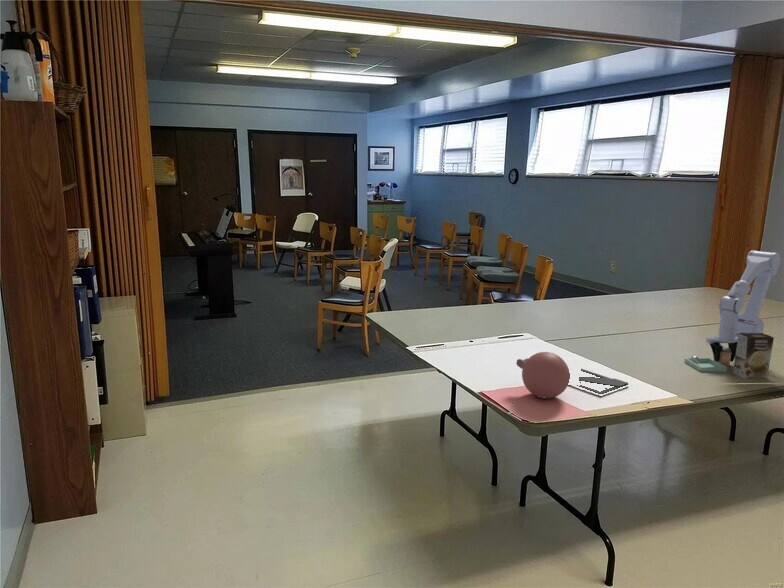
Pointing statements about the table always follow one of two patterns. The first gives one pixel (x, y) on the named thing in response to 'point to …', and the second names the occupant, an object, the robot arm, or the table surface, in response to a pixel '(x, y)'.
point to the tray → (706, 365)
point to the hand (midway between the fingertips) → (723, 360)
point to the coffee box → (753, 355)
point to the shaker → (725, 356)
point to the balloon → (544, 374)
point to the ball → (694, 359)
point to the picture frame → (602, 382)
